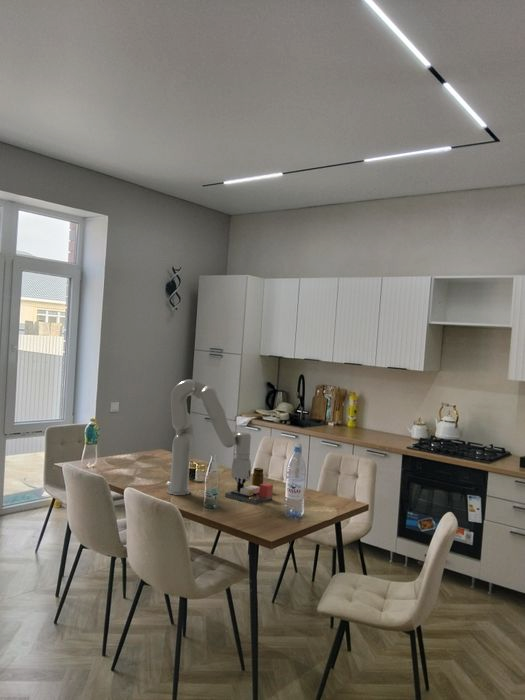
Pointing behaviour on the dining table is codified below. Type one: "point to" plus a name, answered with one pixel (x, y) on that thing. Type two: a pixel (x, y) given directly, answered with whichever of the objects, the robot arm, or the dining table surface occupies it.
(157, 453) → the dining table surface
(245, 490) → the breaker
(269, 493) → the cap
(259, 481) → the condiment
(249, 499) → the panel
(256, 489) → the breaker
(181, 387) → the robot arm
